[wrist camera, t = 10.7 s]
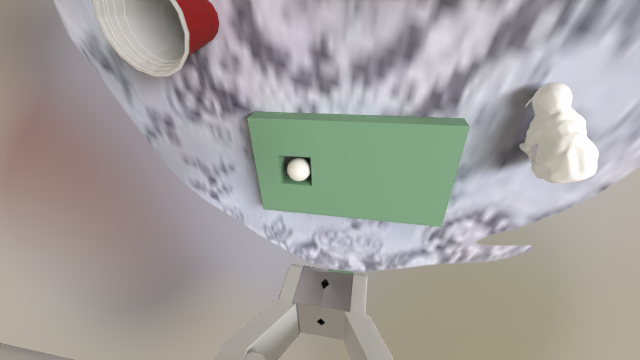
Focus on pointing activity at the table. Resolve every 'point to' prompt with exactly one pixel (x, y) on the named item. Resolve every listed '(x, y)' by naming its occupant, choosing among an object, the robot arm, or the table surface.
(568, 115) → the white snowman figurine
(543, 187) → the table surface
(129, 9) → the plastic cup
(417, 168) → the green
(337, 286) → the robot arm
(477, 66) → the table surface
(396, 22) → the table surface
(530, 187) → the table surface
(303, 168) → the ball
